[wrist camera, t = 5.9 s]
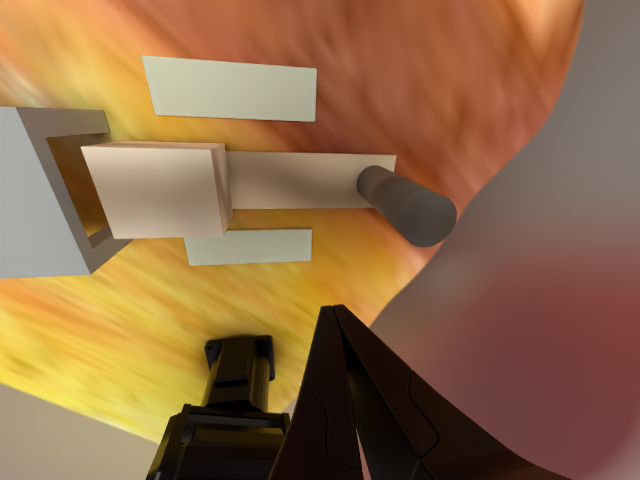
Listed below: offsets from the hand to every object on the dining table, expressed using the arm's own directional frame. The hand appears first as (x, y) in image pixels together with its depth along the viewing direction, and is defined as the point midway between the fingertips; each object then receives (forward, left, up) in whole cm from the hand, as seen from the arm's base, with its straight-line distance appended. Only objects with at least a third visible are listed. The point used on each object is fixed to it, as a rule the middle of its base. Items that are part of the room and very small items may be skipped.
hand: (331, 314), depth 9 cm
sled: (+2, +2, -12) cm, 12 cm away
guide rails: (+2, +4, -12) cm, 13 cm away
